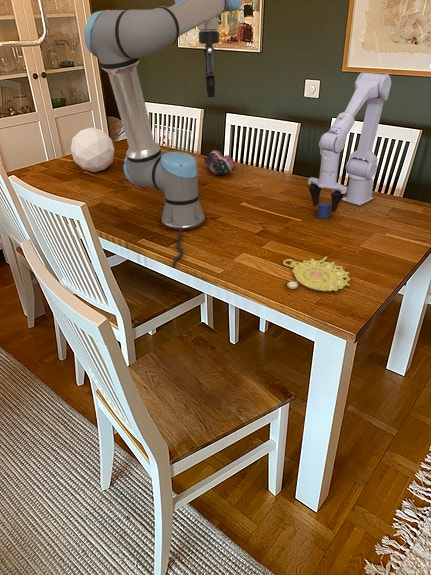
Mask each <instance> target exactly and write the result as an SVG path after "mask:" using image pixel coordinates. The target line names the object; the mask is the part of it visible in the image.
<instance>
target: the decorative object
mask: <svg viewBox="0 0 431 575" xmlns="http://www.w3.org/2000/svg"><path fill="white" fill-rule="evenodd" d="M327 259H328V256H326V255H325V256H324V257H323V258H322V259H320V260H315V259H314V258H312V257H311V258H310V260H302V261H303V262H301V261H295V260H294V259H291V258H285V260H283V262H282V264H283V265H284V266H286V267H289V268H292V269H291V272H292V274H293V275H294V278H295V281H292V280H290V281H288V282H287V283H286V286H287V288H288V289H291V290H295V289H298V287H299V284H301V285H303V286H304V287H306V288H309V289H311V290H315V291H321V292H332V291H335V292H338V290H343V288H344V287H346V286H348V287H349V286H350V283H348V282H349V281H351V278H350V277H349V275H350V274H351V272H349V271H345V270H344V267H343V266H341V265H340V266H339V265H338V264H336V262H335V261H332V262H329V261H326V260H327ZM286 262H290V264H287V263H286Z"/></svg>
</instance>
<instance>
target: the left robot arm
mask: <svg viewBox="0 0 431 575" xmlns="http://www.w3.org/2000/svg"><path fill="white" fill-rule="evenodd" d="M242 5H243V0H174V4H173V5H171V6H169V7H168V6H164V5H163V6H158V7H156V8H153V9H105V10H104V9H103V10H99V11H95V12H93V13H92V14H90V16H89V17H88V18H87V20H86V24H85V26H84V29H83V30H84V32H83V36H84V38H83V39H84V43H85V47H86V48H87V50H88V52H89V53H90V54H91V55H92V56H94V57H96V58H97V59H98V61H99V64H100V68H101V69H102V70H103V71H105V72H106V73H107V74H108V77H109V82H110V85H111V88H112V93H113V95H114V98H115V102H116V106H117V109H118V113H119V117H120V119H121V120H120V121H121V124H122V127H123V130H124V134H125V138H126V141H127V146H128V149H127V150H126V156H125V157H124V160H123V162H124V164H123V173H124V175H125V177H126V179H127V181H128V182H130V183H131V184H132V185H135V186H137V187H140V188H146V189H151V190H155V191H160V192H163V194H164V204H163V207H162V210H161V212H162V213H161V219H160V220H161V225H162V227H163V228H165V229H167V230H170V231H175V232H176V231H177V232H178V237H177V241H176V247H177V249H178V250H179V254H178V255H177V256H176V257H174V259H173V261H172V266H171V268H172V269H175V268H176V263H177V261H178V260H179V259H181V257H183V255H184V251H183V248H181V246H180V242H181V238H182V235H183V234H182V233H183V232H185V231H186V232H187V231H192V230H195V229H198V228H201V227H202V226H203V225H204V224H205V223H206V215H205V212H204V210H203V208H202V204H201V202H200V196H199V175H198V174H199V170H198V164H197V163H198V162H197V160H196V158H195V157H194V156H193V155H191V154H189V153H187V152H184V151H168V152H164V153H163V154H162V149H161V146H160V144H159V143H157V142H155V139H154V134H153V131H152V127H151V123H150V119H149V113H148V110H147V106H146V102H145V98H144V94H143V90H142V89H143V88H142V85H141V81H140V76H139V74H138V69H137V67H138V64H139V62H140V60H141V59H144V58H147V57H150V56H152V55H155V54H157V53H159V52H162V51H163V50H165V49H167V48H169V47H170V46H172V45H175V44H176V43H177V42H178V40H179V38H180V37H181V36H183V35H184V34H186V33H188V32H190V31H191V30H194V29H195V28H197V30H198V43H199V44H202V45H204V47H205V48H203V55H204V61H205V76H204V78H205V81H206V82H205V83H206V92H207V98H216V86H215V85H216V84H215V76H216V74H215V54H216V49H215V47H214V46H213V44H218V43H220V32H219V29H220V24H221V19H219V16H220V15H222V14H224V13H227V12H230V13H232V12H238V11H239V10H240V8H241V7H242Z"/></svg>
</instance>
